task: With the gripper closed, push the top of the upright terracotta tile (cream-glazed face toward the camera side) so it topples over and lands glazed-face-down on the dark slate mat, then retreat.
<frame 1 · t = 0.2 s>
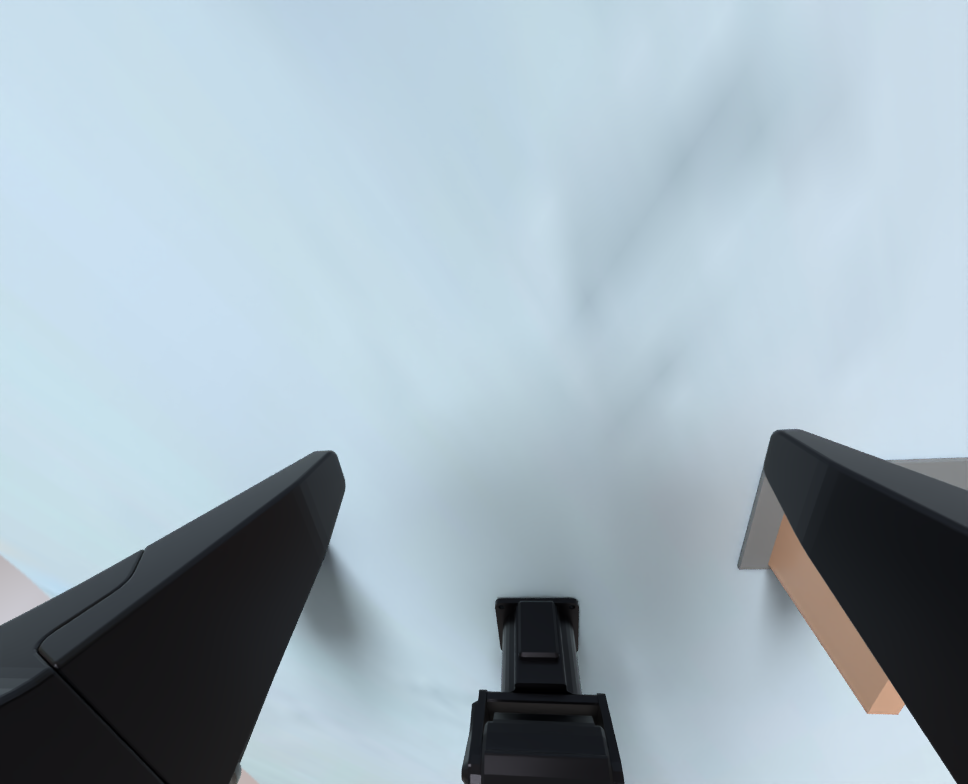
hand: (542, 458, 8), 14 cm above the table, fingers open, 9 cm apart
mat: (856, 516, 26), on the table
tile: (792, 521, 26), resting on mat
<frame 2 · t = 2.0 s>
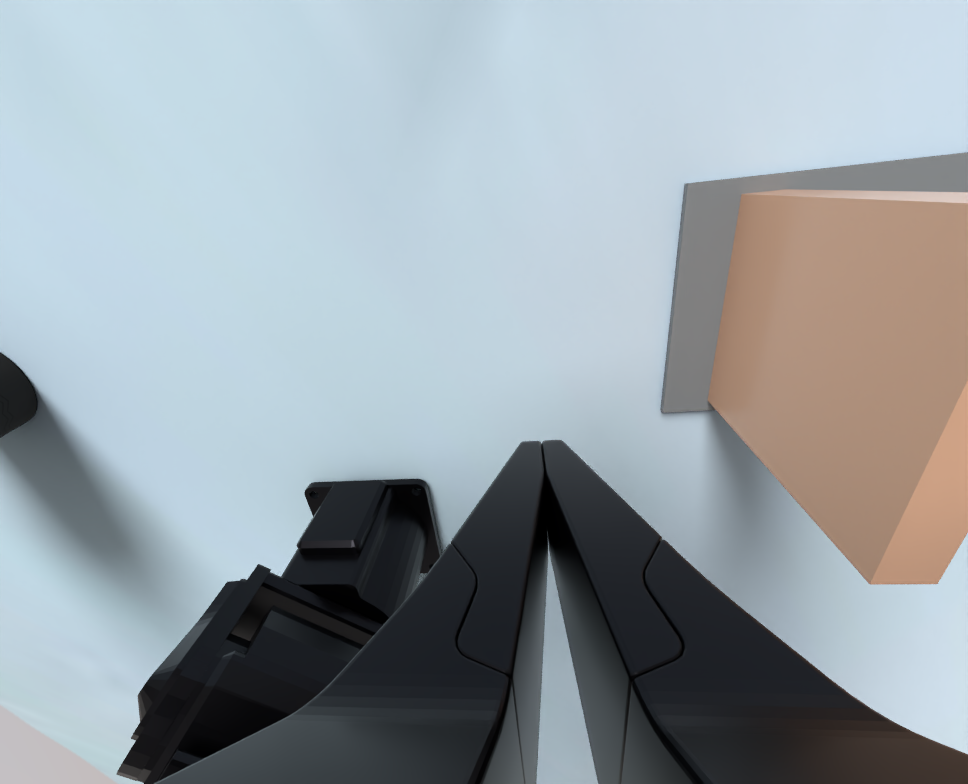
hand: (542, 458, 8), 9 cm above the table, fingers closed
mat: (850, 296, 15), on the table
tile: (741, 307, 15), resting on mat
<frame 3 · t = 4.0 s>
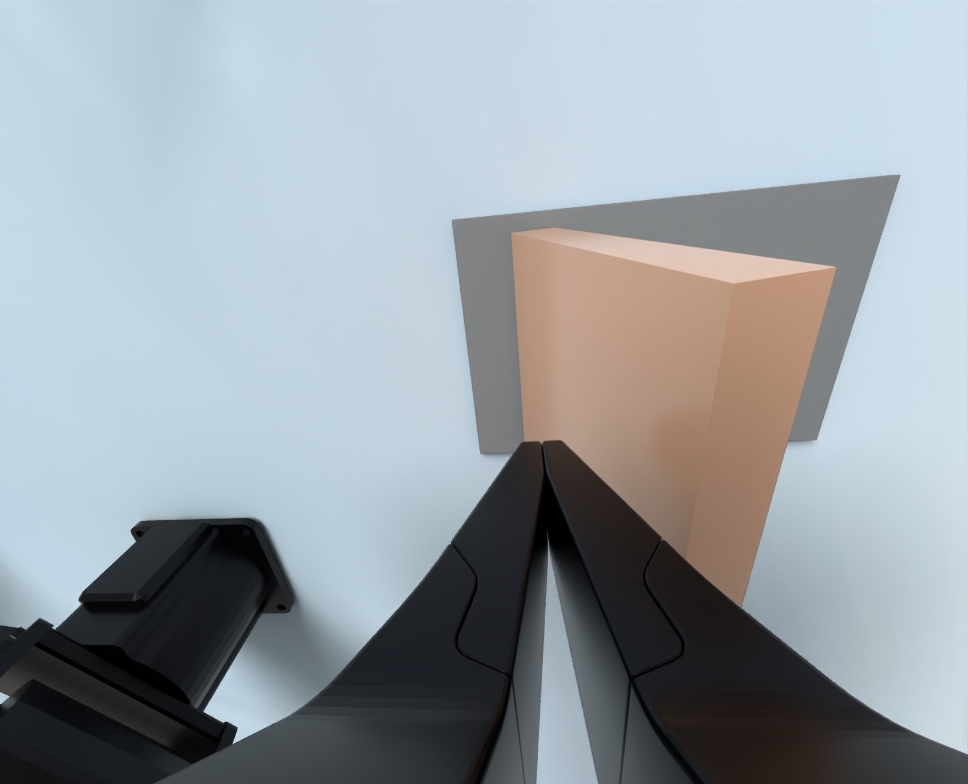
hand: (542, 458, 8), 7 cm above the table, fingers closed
mat: (648, 337, 14), on the table
tile: (537, 349, 14), resting on mat, tilted 17°
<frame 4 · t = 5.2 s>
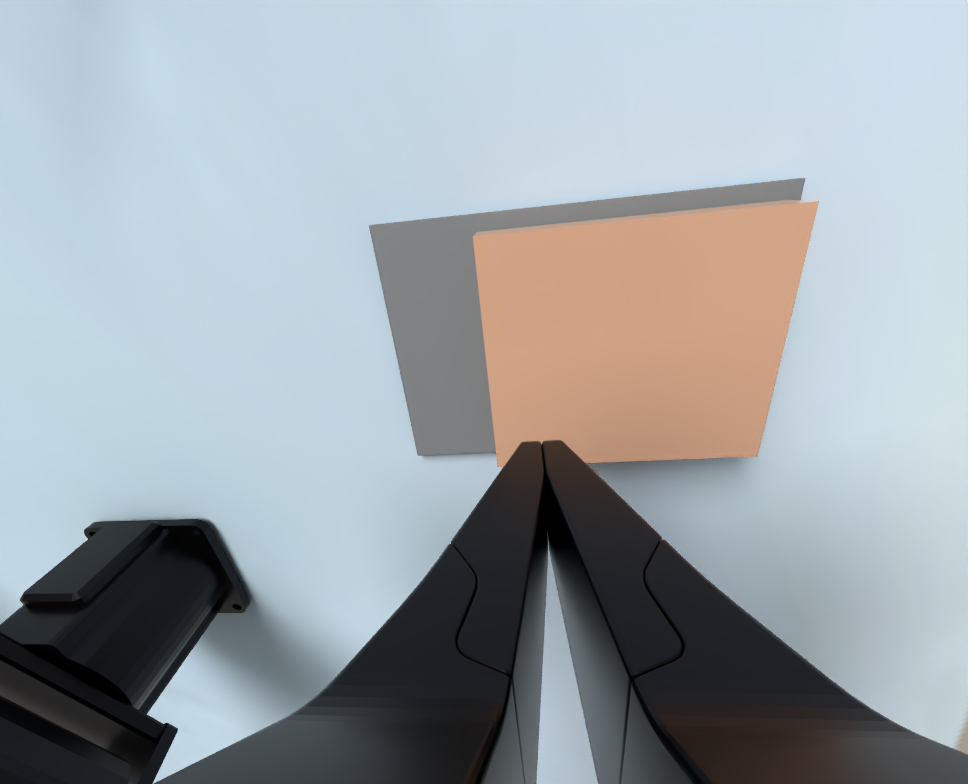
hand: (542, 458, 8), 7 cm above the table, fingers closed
mat: (573, 340, 15), on the table
tile: (488, 359, 14), point 1 cm above the table, tilted 90°, touching mat
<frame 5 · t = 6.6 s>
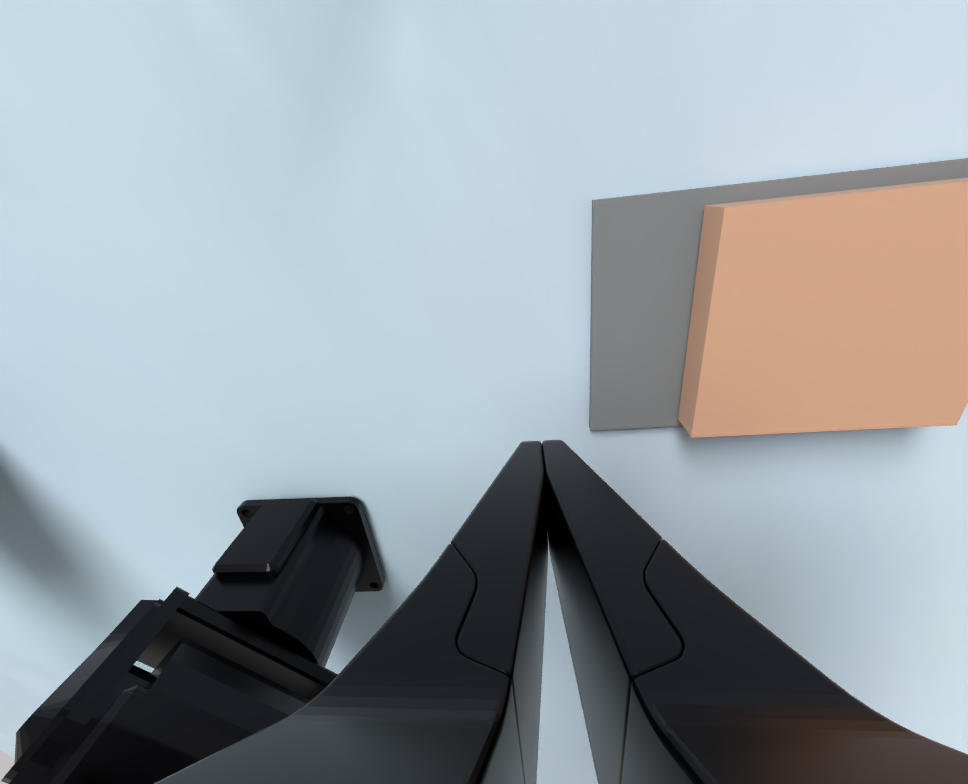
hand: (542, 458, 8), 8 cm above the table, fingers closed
mat: (769, 313, 15), on the table
tile: (697, 331, 14), point 1 cm above the table, tilted 90°, touching mat
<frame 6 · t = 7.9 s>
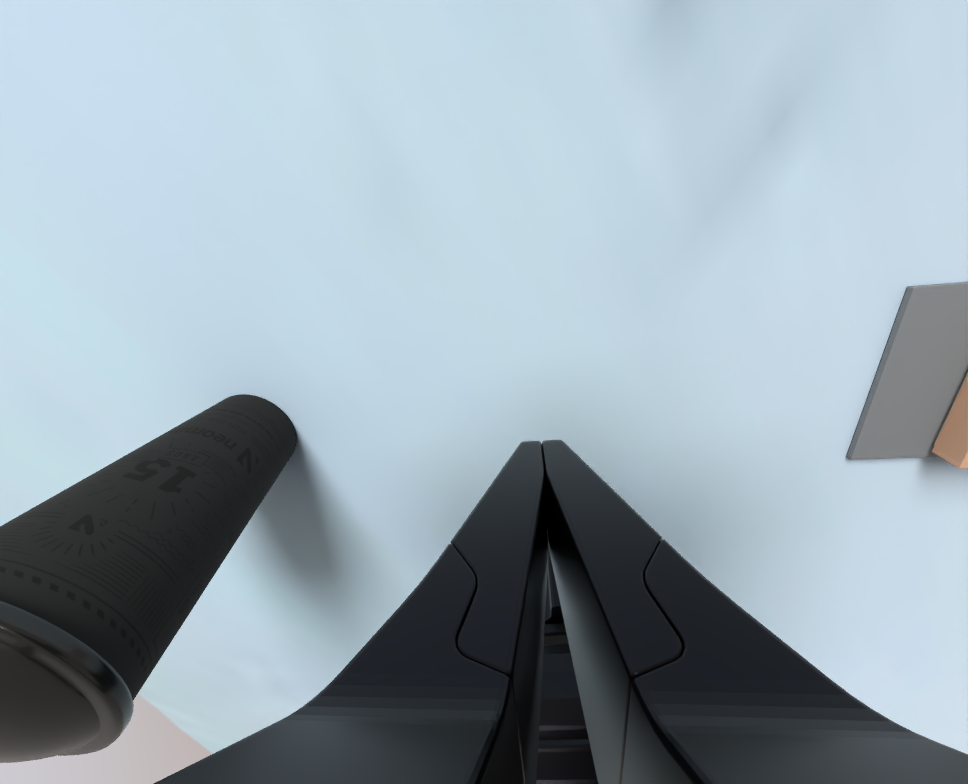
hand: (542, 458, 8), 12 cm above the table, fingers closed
drinking cup: (258, 429, 24), on the table
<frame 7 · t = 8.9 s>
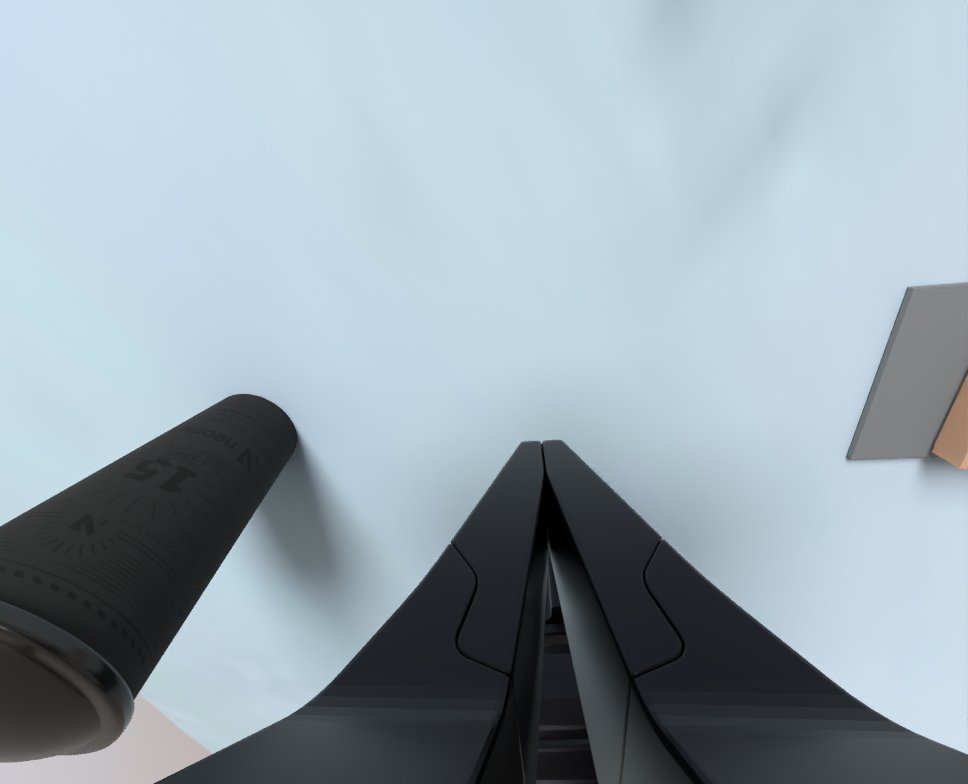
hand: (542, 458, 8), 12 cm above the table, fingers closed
drinking cup: (258, 428, 24), on the table
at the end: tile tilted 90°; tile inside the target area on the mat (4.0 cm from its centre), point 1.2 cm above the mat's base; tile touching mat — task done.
